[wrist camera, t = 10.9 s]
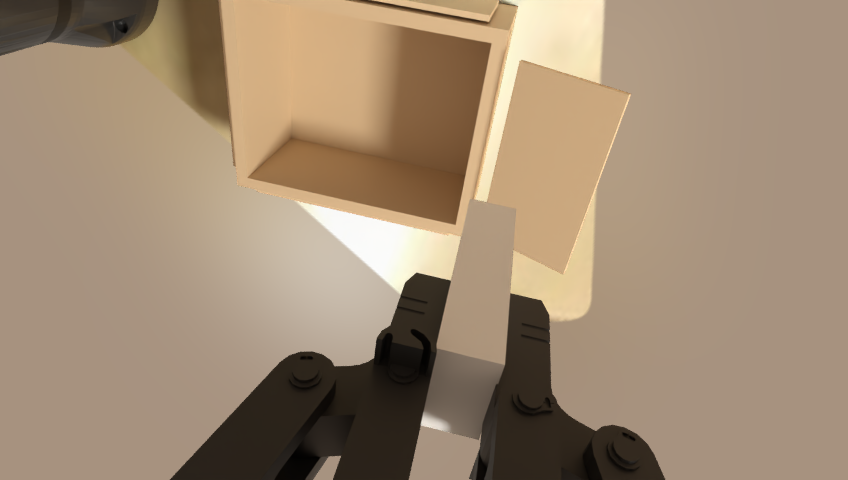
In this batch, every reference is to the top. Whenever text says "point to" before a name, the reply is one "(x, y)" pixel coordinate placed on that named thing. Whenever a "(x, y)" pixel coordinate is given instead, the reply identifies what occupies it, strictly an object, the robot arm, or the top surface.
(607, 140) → the flap
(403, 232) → the top surface
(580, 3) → the top surface
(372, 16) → the open wooden box
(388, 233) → the top surface
